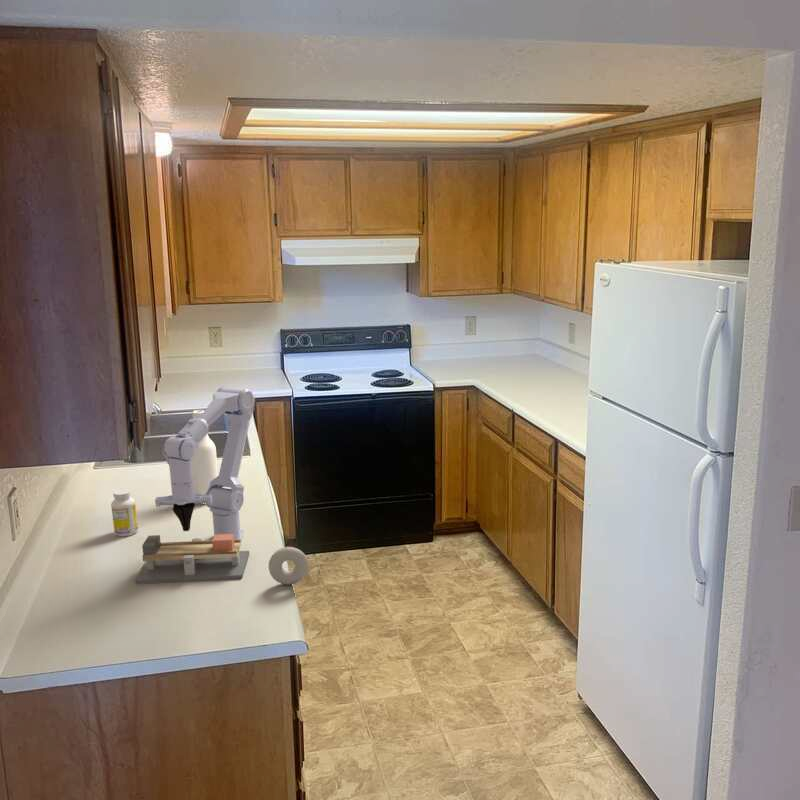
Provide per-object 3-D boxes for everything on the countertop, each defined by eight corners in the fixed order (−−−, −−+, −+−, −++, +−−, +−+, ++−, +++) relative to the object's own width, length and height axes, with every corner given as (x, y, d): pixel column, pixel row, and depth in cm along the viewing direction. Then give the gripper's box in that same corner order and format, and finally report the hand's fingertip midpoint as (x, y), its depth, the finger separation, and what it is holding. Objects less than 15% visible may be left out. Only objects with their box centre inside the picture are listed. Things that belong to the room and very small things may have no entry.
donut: (269, 588, 199) (266, 551, 197) (270, 582, 202) (267, 545, 200) (309, 585, 200) (307, 548, 198) (309, 579, 203) (307, 543, 201)
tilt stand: (149, 558, 218) (147, 539, 217) (249, 553, 219) (247, 534, 218) (135, 583, 203) (132, 562, 202) (242, 578, 205) (240, 557, 203)
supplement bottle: (130, 526, 241) (125, 486, 238) (142, 531, 237) (138, 490, 234) (110, 533, 236) (105, 492, 233) (122, 539, 232) (117, 497, 229)
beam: (150, 548, 214) (149, 534, 213) (241, 544, 215) (240, 530, 214) (142, 561, 206) (141, 546, 205) (236, 557, 207) (235, 542, 206)
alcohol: (225, 497, 263) (218, 409, 256) (208, 506, 256) (200, 415, 249) (204, 493, 267) (196, 406, 260) (186, 502, 260) (178, 413, 253)
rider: (215, 545, 212) (214, 534, 212) (234, 544, 212) (233, 533, 212) (213, 551, 208) (212, 540, 208) (232, 550, 209) (231, 539, 208)
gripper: (150, 487, 205) (155, 536, 209) (207, 485, 206) (211, 534, 209) (156, 478, 212) (161, 526, 215) (212, 476, 213) (216, 523, 216)
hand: (186, 529), depth 213 cm, fingers closed
